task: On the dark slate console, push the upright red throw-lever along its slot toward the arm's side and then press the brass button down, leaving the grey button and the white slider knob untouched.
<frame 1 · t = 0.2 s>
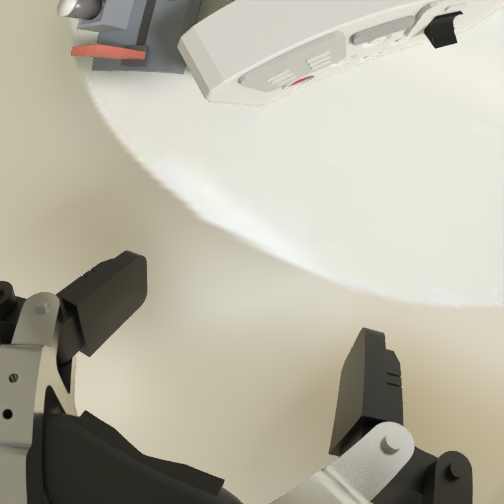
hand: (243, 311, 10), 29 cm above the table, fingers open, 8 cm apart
console: (154, 7, 31), on the table
red lever: (112, 52, 28), point 8 cm above the table, slide at 0.0 cm
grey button: (80, 6, 23), point 11 cm above the table, slide at 0.0 cm
rounded white slab: (357, 43, 28), on the table
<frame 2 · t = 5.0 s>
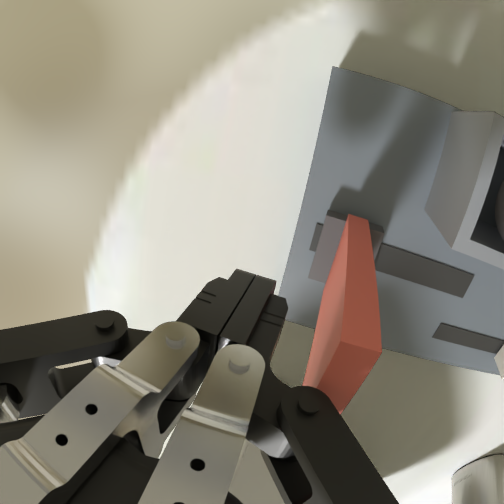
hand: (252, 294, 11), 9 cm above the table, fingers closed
console: (458, 241, 16), on the table
red lever: (341, 300, 11), point 8 cm above the table, slide at 0.9 cm, touching gripper
rounded white slab: (308, 447, 31), on the table
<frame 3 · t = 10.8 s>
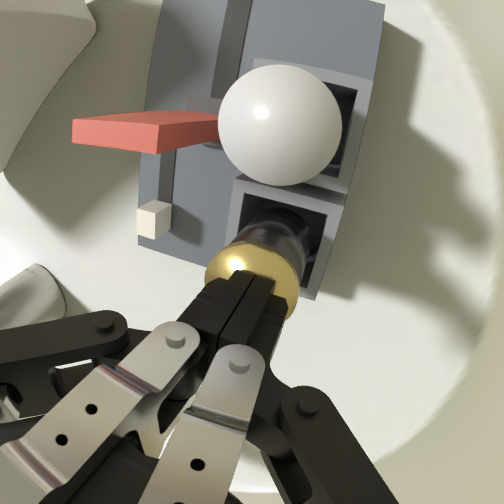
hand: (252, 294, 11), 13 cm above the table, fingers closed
console: (252, 128, 21), on the table
slider knob: (154, 218, 21), point 4 cm above the table, slide at 0.0 cm
red lever: (177, 124, 14), point 8 cm above the table, slide at 8.1 cm
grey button: (292, 123, 10), point 11 cm above the table, slide at 0.0 cm
brass button: (266, 261, 14), point 10 cm above the table, slide at 0.5 cm, touching gripper
rounded white slab: (32, 97, 26), on the table
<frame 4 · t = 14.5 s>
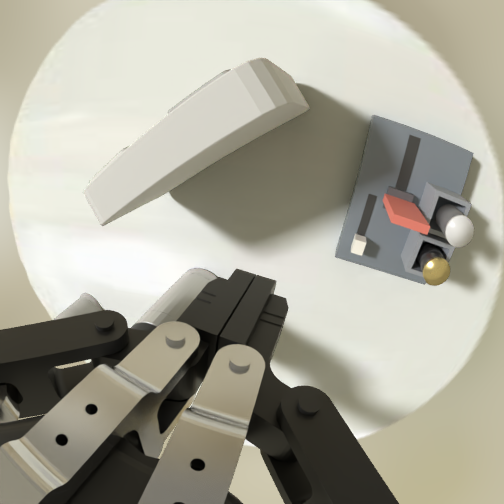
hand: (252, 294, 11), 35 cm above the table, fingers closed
console: (402, 200, 40), on the table
slider knob: (358, 244, 41), point 4 cm above the table, slide at 0.0 cm
red lever: (403, 210, 33), point 8 cm above the table, slide at 8.1 cm
grey mug: (94, 314, 74), on the table
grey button: (453, 224, 29), point 11 cm above the table, slide at 0.0 cm
brass button: (432, 262, 34), point 9 cm above the table, slide at 1.6 cm
rounded white slab: (222, 138, 45), on the table
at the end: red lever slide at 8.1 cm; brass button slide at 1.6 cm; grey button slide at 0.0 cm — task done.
